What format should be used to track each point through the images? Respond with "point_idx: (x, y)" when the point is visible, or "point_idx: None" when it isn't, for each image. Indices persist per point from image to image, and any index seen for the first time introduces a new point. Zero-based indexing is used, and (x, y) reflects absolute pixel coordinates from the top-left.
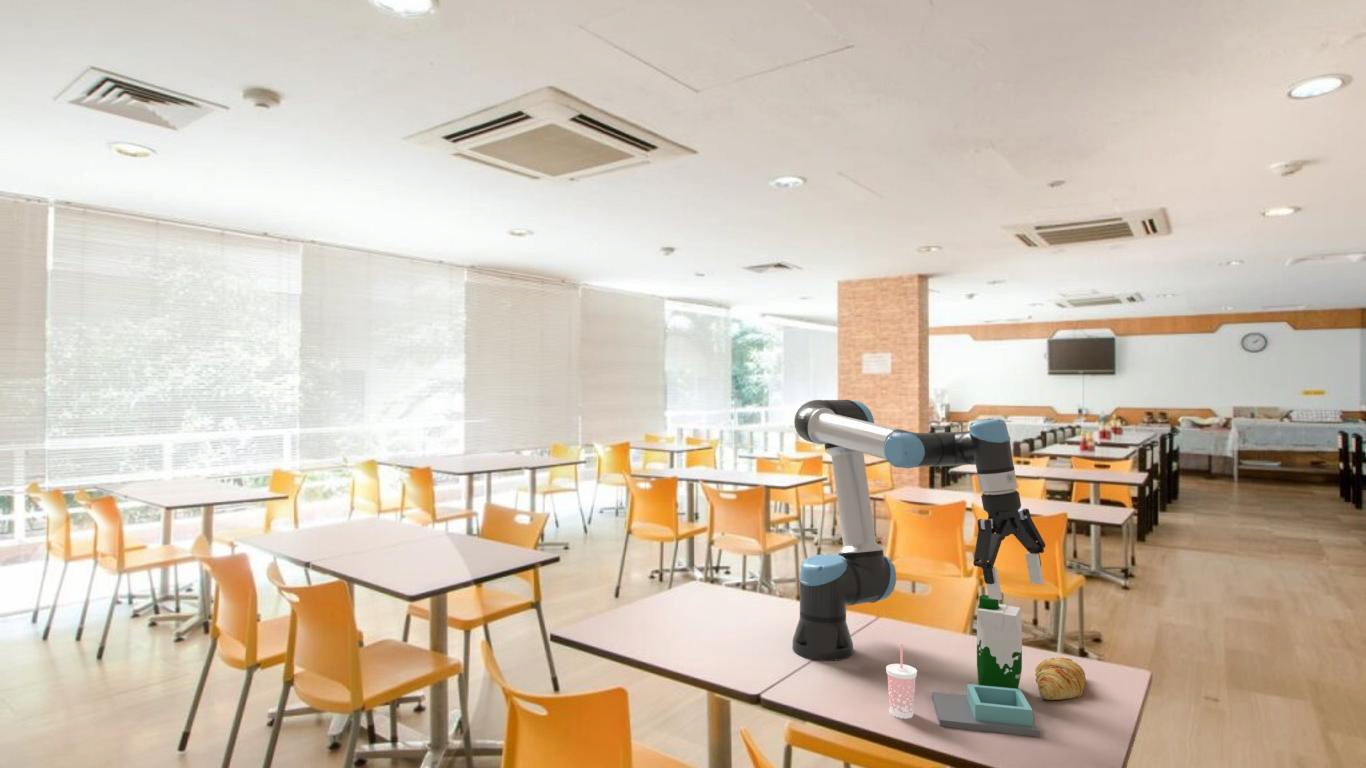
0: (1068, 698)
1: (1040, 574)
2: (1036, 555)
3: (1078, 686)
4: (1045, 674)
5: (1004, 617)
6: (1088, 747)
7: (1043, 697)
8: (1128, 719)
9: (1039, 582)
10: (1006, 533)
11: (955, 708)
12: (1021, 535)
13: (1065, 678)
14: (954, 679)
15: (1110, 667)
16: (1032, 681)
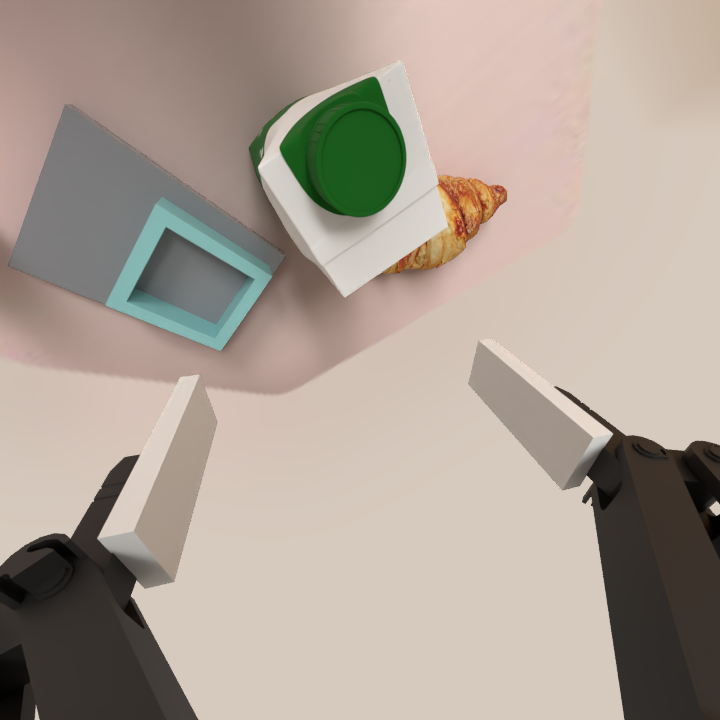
0: None
1: (494, 409)
2: (557, 484)
3: (412, 268)
4: None
5: (321, 266)
6: (267, 377)
7: None
8: (389, 335)
9: (473, 382)
10: None
11: (91, 231)
12: (632, 703)
13: (396, 270)
14: (235, 28)
15: (568, 191)
16: None
